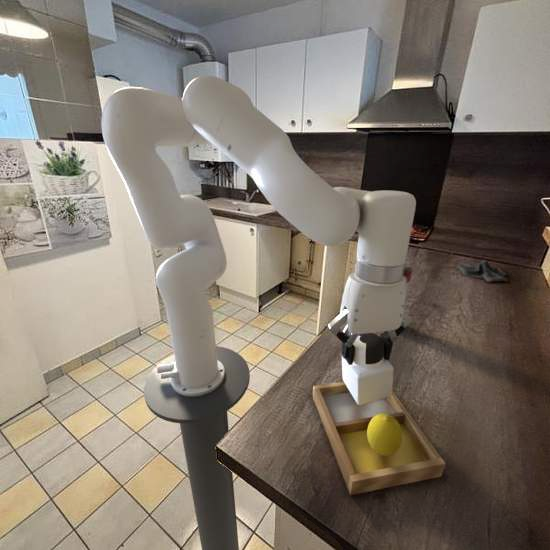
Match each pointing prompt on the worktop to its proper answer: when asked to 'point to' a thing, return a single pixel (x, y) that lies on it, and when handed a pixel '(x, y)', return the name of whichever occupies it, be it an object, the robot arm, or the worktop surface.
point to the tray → (357, 451)
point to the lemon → (384, 434)
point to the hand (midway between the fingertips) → (365, 357)
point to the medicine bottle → (368, 370)
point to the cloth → (483, 271)
